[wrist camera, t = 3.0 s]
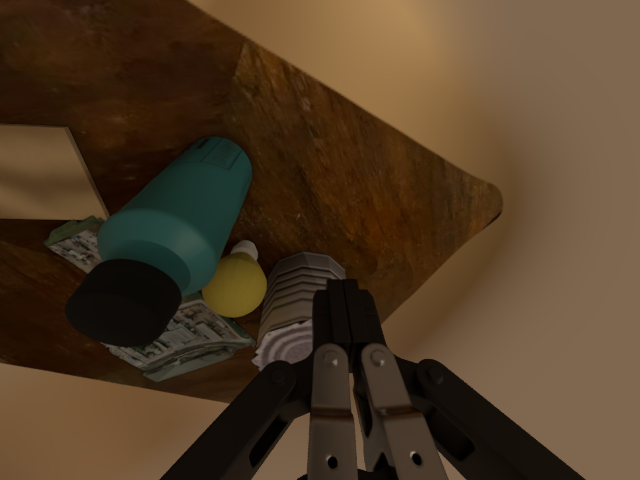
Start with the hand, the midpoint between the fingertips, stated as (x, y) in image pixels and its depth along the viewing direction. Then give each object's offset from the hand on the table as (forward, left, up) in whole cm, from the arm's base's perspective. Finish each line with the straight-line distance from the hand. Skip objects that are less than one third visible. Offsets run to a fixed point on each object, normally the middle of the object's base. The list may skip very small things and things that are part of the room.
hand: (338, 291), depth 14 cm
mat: (+2, -31, -18) cm, 36 cm away
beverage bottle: (0, -10, -18) cm, 21 cm away
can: (+17, -1, -18) cm, 25 cm away
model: (+23, -26, -18) cm, 39 cm away
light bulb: (+11, -9, -18) cm, 23 cm away
